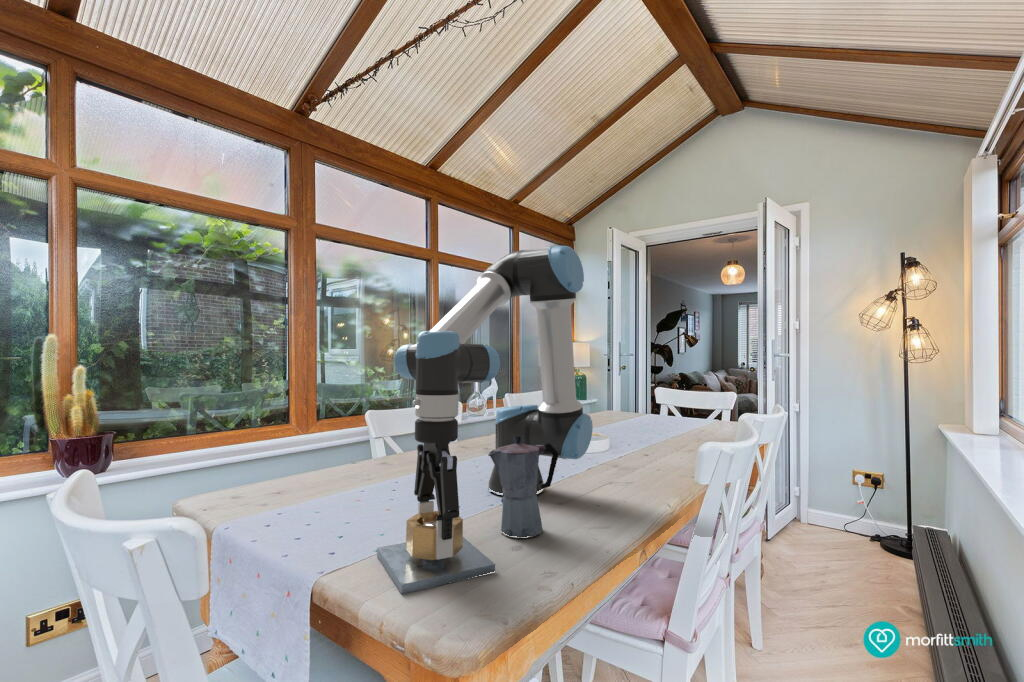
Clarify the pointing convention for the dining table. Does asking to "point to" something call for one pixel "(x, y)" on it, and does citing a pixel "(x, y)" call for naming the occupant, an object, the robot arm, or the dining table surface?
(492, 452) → the moka pot
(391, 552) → the peg base plate
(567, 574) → the dining table surface
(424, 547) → the ring
